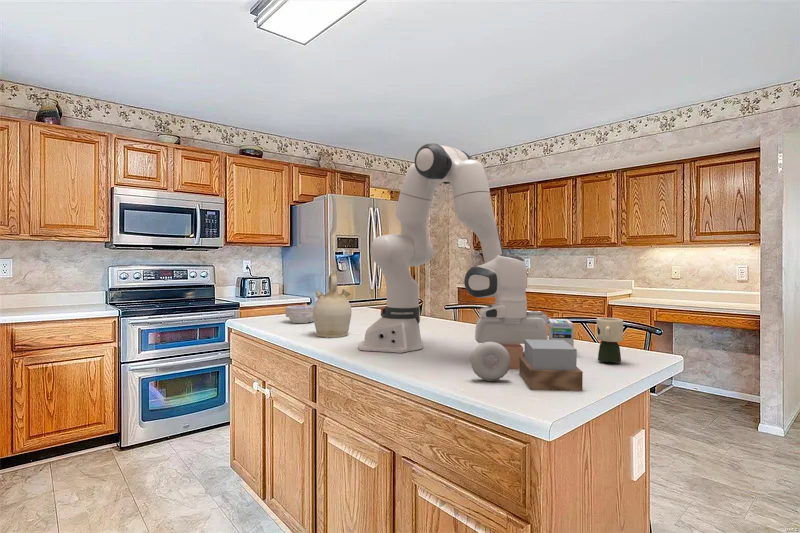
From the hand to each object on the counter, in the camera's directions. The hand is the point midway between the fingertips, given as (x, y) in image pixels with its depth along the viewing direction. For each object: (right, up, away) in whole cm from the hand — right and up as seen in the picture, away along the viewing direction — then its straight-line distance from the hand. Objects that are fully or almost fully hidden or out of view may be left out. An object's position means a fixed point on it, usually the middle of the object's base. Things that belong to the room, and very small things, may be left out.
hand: (510, 358), depth 129 cm
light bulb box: (+21, -2, +17) cm, 27 cm away
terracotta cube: (0, -2, 0) cm, 2 cm away
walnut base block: (+6, -3, -16) cm, 18 cm away
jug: (-59, -1, +51) cm, 78 cm away
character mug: (+31, -2, +4) cm, 31 cm away
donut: (-9, -3, -15) cm, 18 cm away
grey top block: (+6, +2, -16) cm, 17 cm away
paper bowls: (-79, -1, +87) cm, 117 cm away
